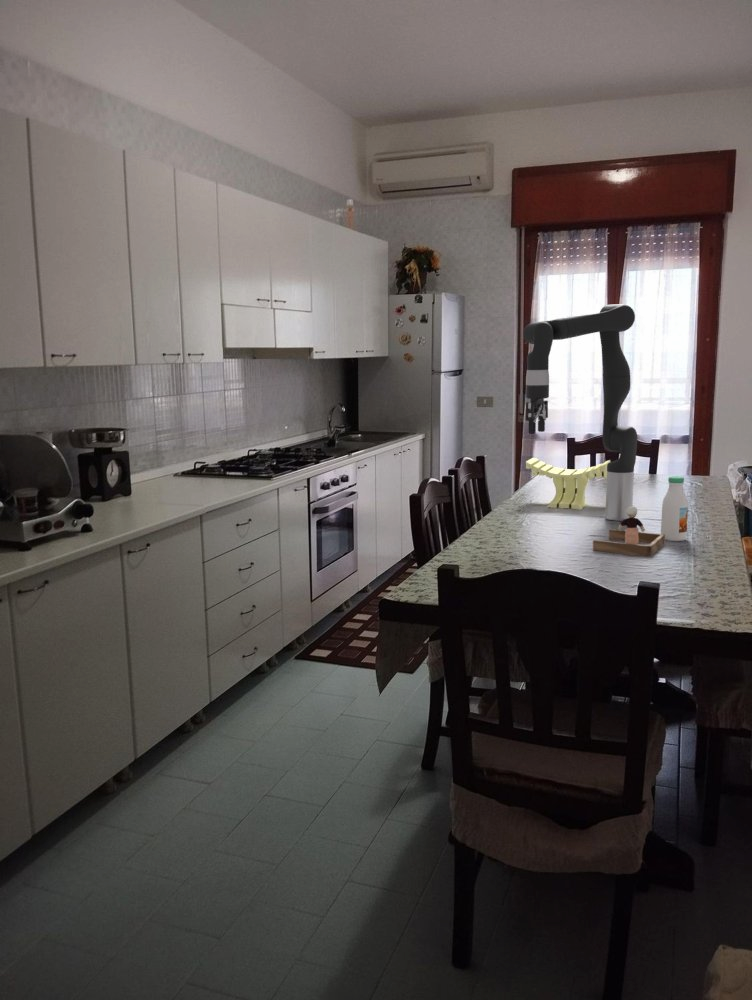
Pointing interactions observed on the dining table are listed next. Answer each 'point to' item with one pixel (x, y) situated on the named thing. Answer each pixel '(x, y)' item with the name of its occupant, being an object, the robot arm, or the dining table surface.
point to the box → (626, 548)
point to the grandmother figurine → (631, 526)
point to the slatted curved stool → (567, 482)
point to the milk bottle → (675, 511)
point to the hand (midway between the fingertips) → (536, 432)
